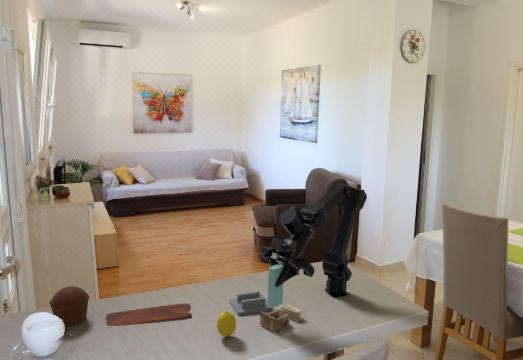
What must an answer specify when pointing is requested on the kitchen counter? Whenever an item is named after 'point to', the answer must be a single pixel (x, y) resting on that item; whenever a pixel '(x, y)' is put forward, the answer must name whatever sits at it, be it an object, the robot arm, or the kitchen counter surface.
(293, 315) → the offcut stack
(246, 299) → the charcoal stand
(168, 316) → the wooden tablet
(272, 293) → the teal rectangular block
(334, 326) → the kitchen counter surface
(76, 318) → the muffin
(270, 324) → the stand
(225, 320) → the lemon
